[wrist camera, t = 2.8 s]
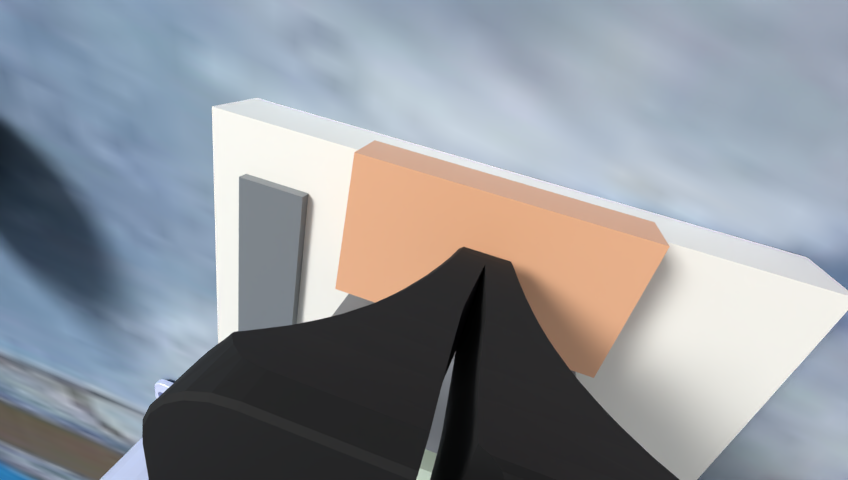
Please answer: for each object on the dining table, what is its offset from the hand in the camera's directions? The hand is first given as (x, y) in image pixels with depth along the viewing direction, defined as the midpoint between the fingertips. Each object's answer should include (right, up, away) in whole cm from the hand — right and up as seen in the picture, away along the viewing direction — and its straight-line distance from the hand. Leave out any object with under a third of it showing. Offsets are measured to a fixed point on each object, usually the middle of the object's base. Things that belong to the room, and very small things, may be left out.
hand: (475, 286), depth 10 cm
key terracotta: (+1, +1, +2) cm, 2 cm away
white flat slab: (0, -2, +8) cm, 8 cm away
